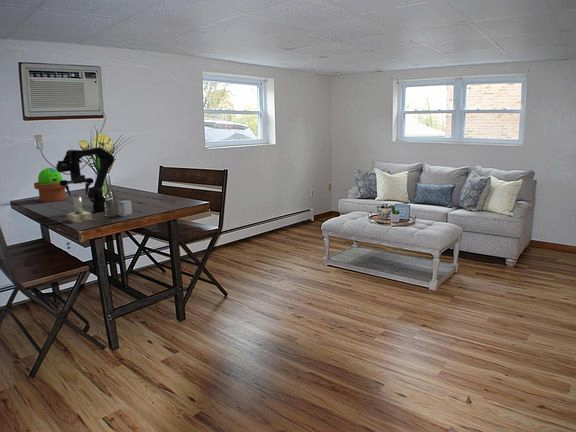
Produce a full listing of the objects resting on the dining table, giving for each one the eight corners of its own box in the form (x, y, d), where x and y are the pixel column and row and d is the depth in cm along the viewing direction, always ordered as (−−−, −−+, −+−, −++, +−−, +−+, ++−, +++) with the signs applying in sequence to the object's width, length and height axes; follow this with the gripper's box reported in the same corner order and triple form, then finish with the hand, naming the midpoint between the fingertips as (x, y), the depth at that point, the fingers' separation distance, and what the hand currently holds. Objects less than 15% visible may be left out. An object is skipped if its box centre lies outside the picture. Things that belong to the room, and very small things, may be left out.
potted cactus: (32, 200, 330) (26, 167, 325) (62, 196, 347) (57, 164, 341) (43, 204, 317) (38, 169, 311) (74, 199, 333) (70, 166, 327)
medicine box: (126, 213, 280) (125, 200, 278) (132, 213, 278) (131, 200, 276) (118, 216, 272) (117, 202, 270) (124, 216, 271) (123, 202, 269)
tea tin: (77, 212, 266) (75, 196, 264) (84, 212, 266) (82, 196, 263) (73, 214, 261) (71, 197, 259) (80, 214, 261) (78, 197, 259)
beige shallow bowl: (85, 216, 272) (84, 210, 271) (93, 219, 265) (92, 213, 264) (67, 220, 264) (66, 213, 263) (74, 222, 257) (73, 216, 256)
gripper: (59, 173, 257) (63, 199, 261) (93, 170, 267) (96, 195, 270) (57, 171, 267) (61, 196, 270) (90, 168, 276) (93, 193, 280)
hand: (78, 195), depth 272 cm, fingers open, 9 cm apart
